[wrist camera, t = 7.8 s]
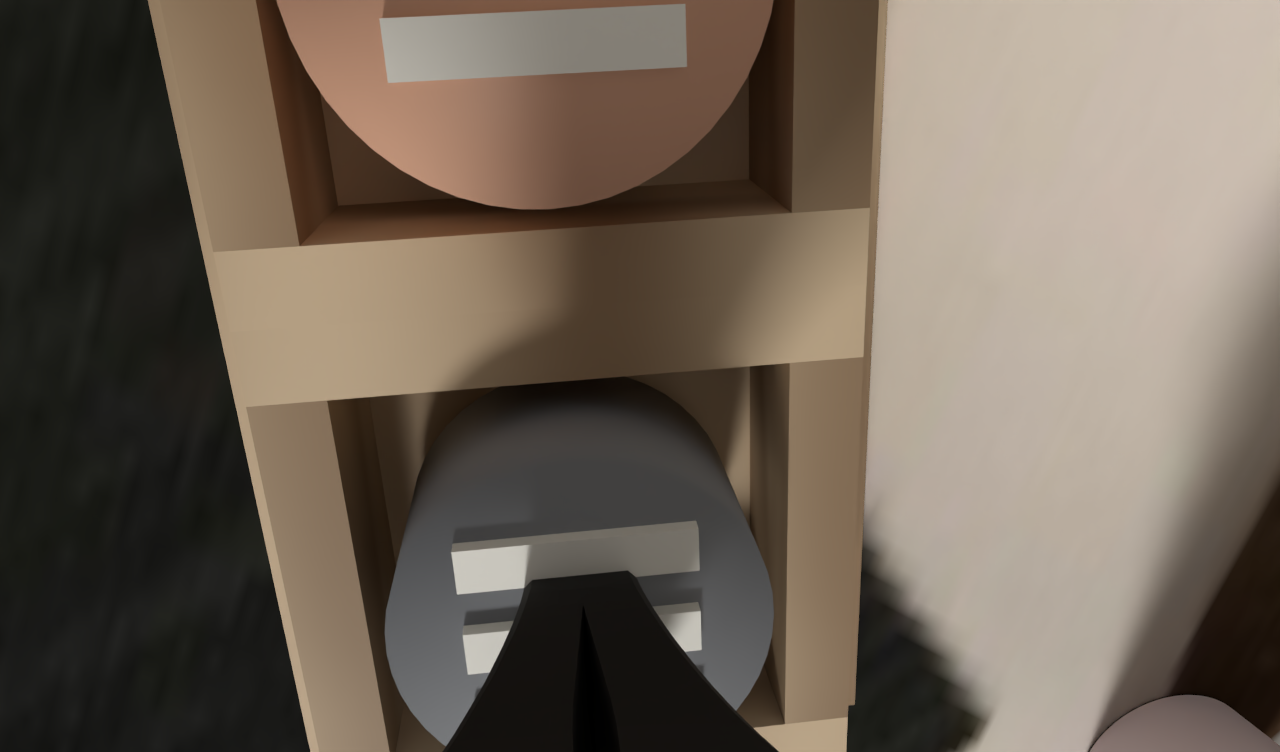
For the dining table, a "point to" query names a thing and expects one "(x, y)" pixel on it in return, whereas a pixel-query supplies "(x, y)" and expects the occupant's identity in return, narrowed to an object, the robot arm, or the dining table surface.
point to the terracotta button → (529, 87)
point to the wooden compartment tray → (539, 333)
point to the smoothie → (1184, 729)
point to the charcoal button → (570, 536)
